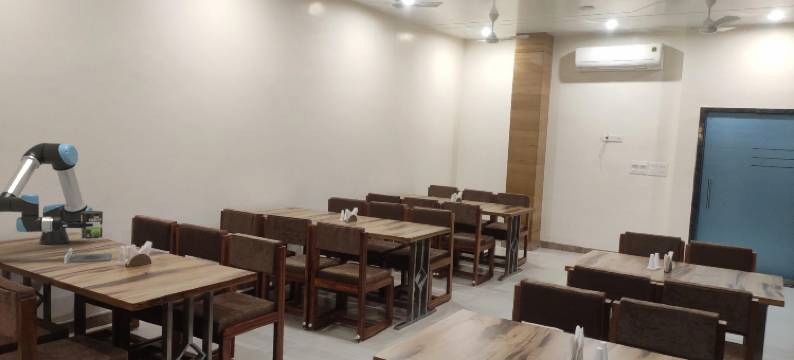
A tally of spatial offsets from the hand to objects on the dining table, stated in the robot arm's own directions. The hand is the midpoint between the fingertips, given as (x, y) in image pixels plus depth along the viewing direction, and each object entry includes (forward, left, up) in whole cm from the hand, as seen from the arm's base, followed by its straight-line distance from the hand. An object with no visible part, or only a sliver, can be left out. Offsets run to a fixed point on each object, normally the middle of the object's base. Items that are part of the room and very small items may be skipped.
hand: (100, 223), depth 307 cm
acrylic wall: (0, -15, -19) cm, 24 cm away
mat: (0, -4, -19) cm, 19 cm away
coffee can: (0, -4, -8) cm, 9 cm away
